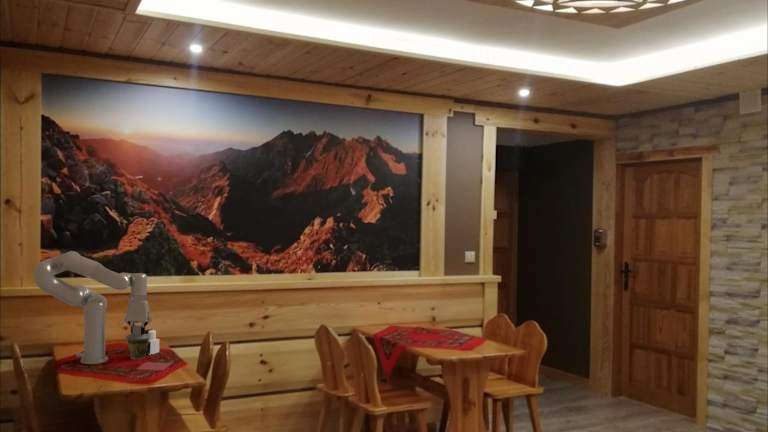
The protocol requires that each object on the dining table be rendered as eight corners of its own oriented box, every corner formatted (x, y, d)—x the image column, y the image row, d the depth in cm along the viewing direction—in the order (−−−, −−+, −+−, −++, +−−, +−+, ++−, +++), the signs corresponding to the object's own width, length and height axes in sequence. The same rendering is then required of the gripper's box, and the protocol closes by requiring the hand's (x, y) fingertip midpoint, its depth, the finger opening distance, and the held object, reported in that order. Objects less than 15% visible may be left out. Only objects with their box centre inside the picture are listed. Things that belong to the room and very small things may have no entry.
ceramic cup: (128, 356, 344) (128, 337, 344) (149, 356, 347) (149, 336, 346) (125, 363, 332) (125, 342, 331) (146, 362, 334) (147, 342, 334)
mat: (136, 370, 320) (136, 369, 320) (145, 363, 333) (145, 362, 333) (163, 371, 320) (163, 370, 320) (172, 364, 333) (172, 363, 333)
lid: (122, 339, 333) (122, 327, 333) (131, 335, 344) (131, 323, 344) (144, 340, 333) (145, 328, 333) (152, 335, 344) (152, 324, 344)
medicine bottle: (139, 353, 351) (139, 330, 351) (148, 350, 358) (149, 328, 357) (150, 355, 348) (150, 332, 348) (159, 352, 355) (159, 329, 355)
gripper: (118, 298, 334) (118, 335, 335) (152, 300, 334) (151, 336, 335) (124, 296, 342) (124, 332, 342) (157, 297, 342) (157, 333, 342)
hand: (137, 334), depth 339 cm, fingers closed on lid, 3 cm apart
